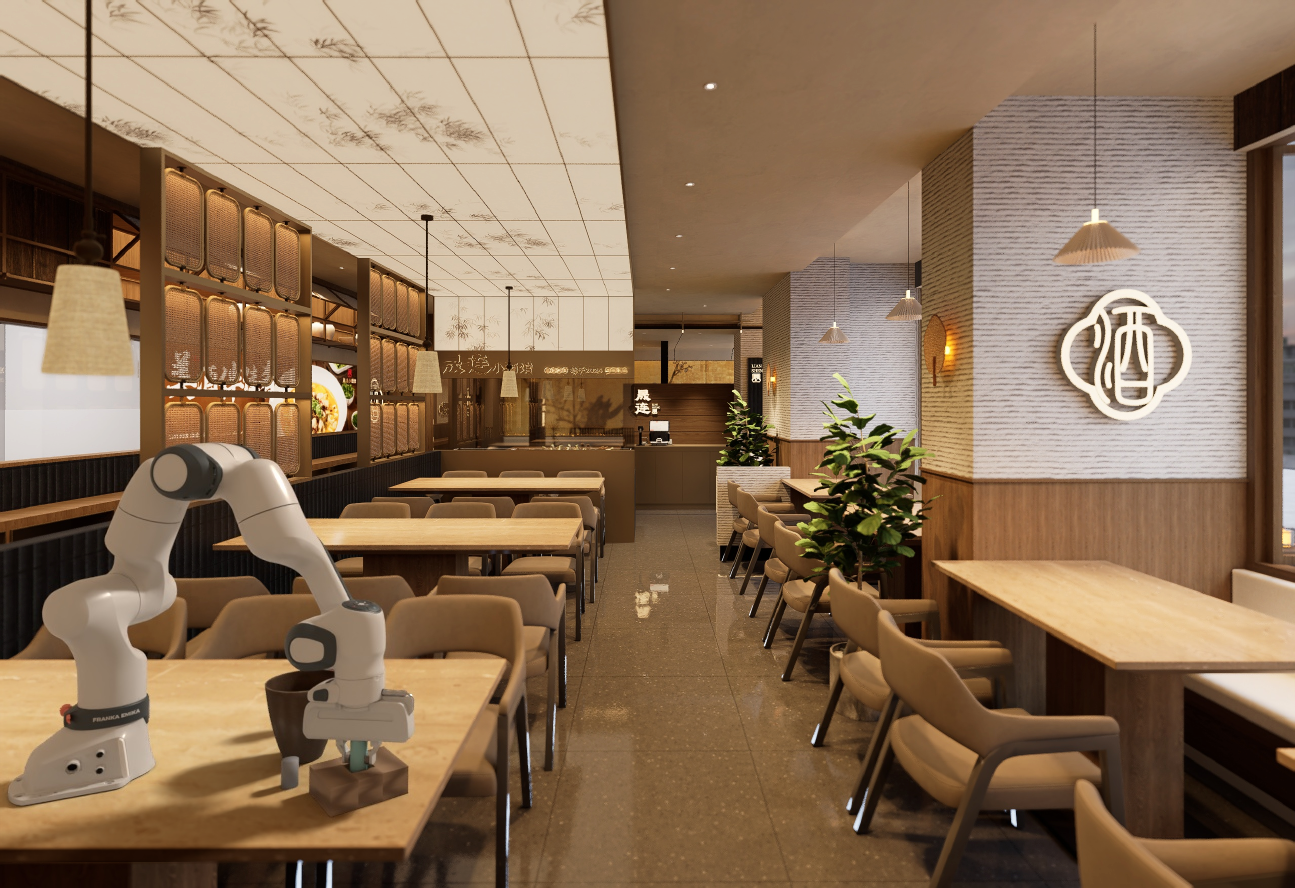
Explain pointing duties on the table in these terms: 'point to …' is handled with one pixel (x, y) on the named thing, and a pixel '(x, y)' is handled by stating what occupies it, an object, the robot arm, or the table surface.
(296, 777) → the charcoal dowel
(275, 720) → the plant pot
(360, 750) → the teal dowel
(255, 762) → the table surface
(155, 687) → the table surface
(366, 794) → the walnut block
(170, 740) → the table surface
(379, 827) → the table surface
